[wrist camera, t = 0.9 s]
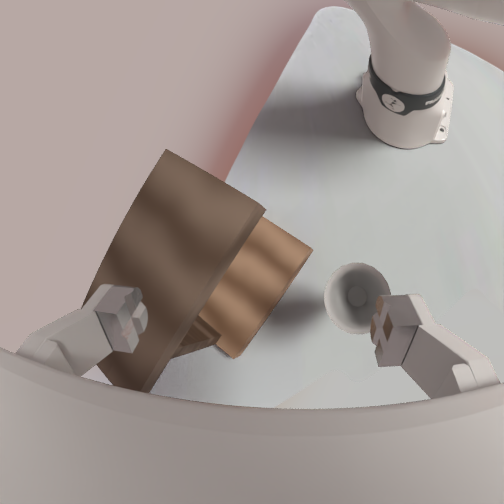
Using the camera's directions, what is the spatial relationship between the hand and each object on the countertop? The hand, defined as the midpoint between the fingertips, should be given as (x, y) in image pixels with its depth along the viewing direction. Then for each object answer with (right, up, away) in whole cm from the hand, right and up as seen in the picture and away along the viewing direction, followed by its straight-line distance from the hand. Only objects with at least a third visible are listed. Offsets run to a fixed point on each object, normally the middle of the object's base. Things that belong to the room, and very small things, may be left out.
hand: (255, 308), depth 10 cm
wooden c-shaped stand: (0, -4, +41) cm, 42 cm away
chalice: (+17, -5, +35) cm, 39 cm away
